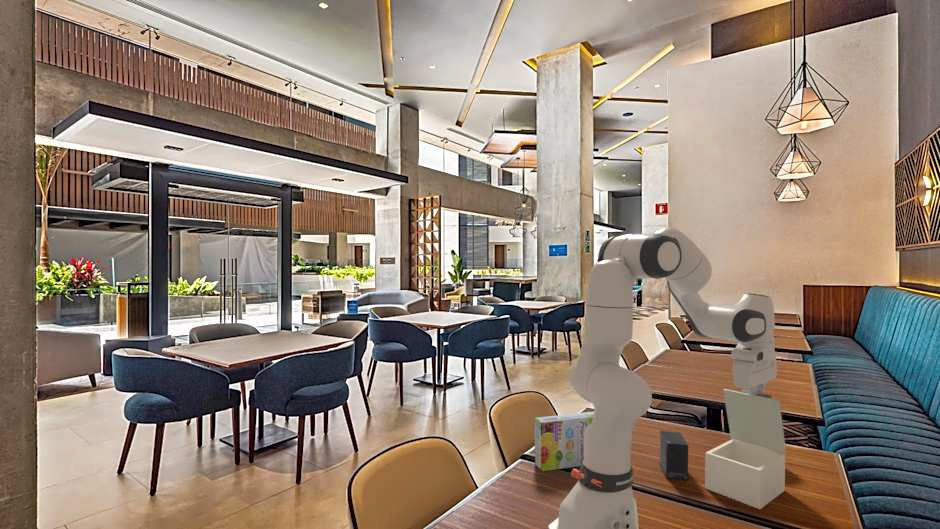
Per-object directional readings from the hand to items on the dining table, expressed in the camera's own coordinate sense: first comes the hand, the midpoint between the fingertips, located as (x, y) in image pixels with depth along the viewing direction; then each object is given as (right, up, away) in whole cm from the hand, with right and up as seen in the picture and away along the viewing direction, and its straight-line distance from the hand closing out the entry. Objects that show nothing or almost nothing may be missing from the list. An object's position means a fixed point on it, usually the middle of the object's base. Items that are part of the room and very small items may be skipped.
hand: (756, 398), depth 136 cm
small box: (-20, -24, +7) cm, 32 cm away
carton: (-6, -24, -4) cm, 25 cm away
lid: (-1, -6, -1) cm, 6 cm away
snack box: (-51, -24, +13) cm, 58 cm away
